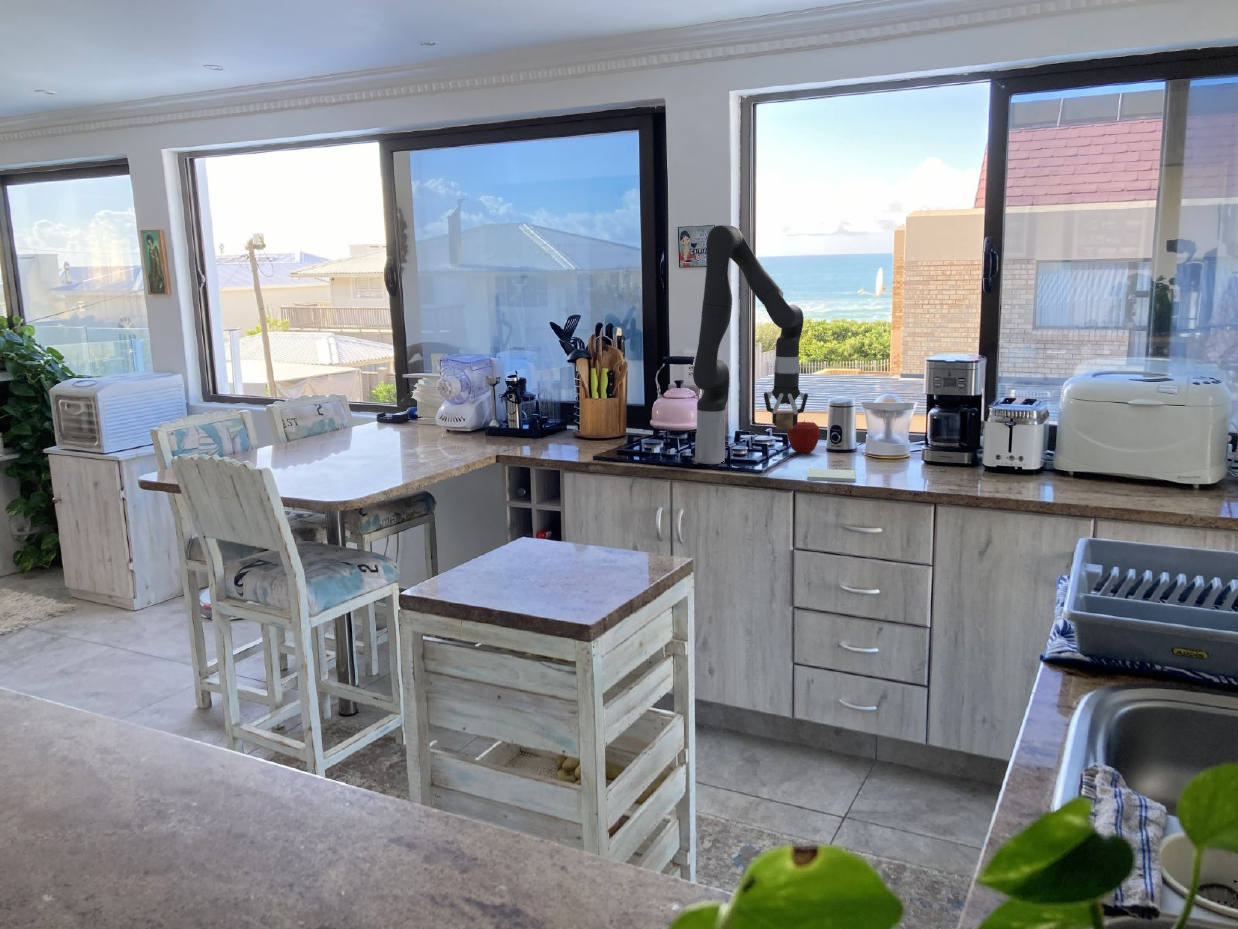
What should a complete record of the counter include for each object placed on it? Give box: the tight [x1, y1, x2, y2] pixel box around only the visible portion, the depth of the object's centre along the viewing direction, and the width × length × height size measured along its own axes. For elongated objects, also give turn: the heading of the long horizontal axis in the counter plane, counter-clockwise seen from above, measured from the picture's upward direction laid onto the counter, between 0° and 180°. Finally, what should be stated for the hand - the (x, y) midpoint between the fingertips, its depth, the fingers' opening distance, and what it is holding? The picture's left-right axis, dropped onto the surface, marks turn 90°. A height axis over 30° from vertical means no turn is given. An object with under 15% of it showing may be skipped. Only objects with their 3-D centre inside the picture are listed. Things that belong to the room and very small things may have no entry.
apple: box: [786, 419, 821, 455], centre depth 332 cm, size 11×11×12 cm
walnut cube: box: [775, 409, 794, 430], centre depth 302 cm, size 5×5×5 cm
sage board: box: [807, 468, 857, 483], centre depth 296 cm, size 14×12×1 cm
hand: (784, 425), depth 302 cm, fingers closed on walnut cube, 5 cm apart
